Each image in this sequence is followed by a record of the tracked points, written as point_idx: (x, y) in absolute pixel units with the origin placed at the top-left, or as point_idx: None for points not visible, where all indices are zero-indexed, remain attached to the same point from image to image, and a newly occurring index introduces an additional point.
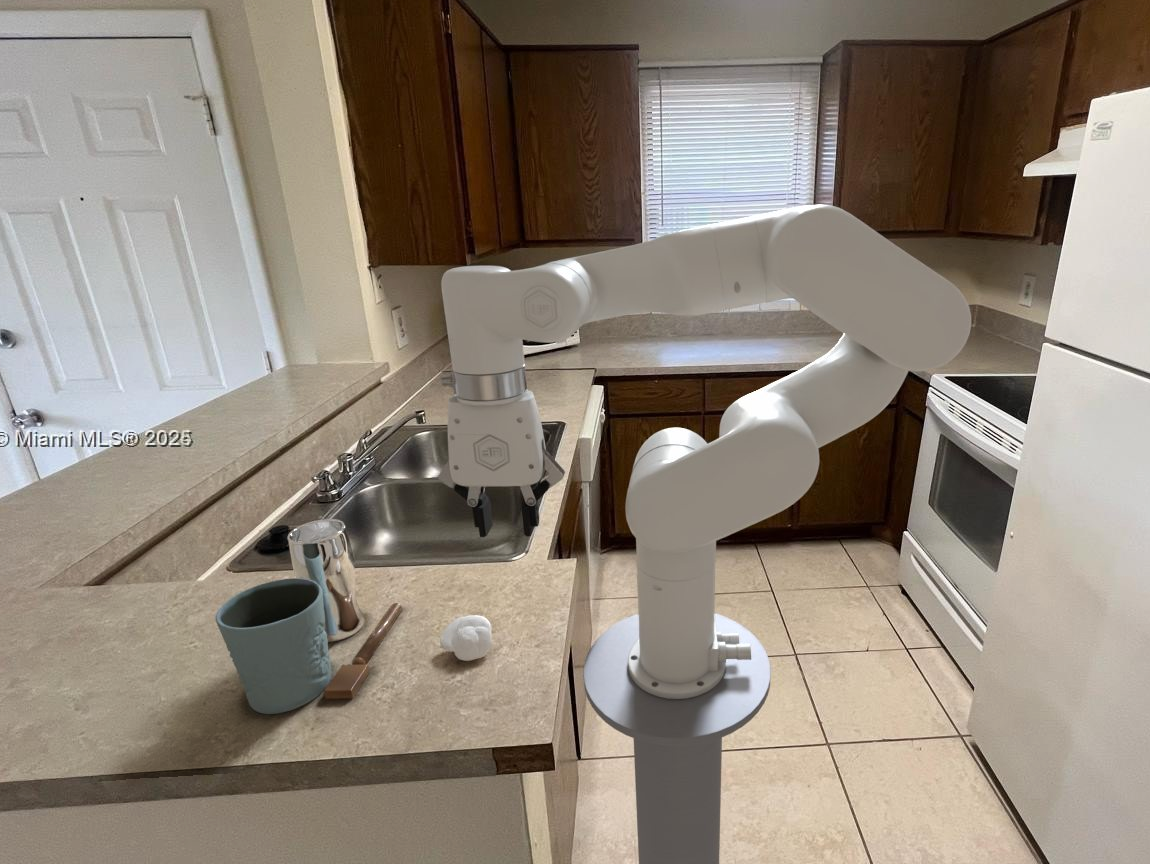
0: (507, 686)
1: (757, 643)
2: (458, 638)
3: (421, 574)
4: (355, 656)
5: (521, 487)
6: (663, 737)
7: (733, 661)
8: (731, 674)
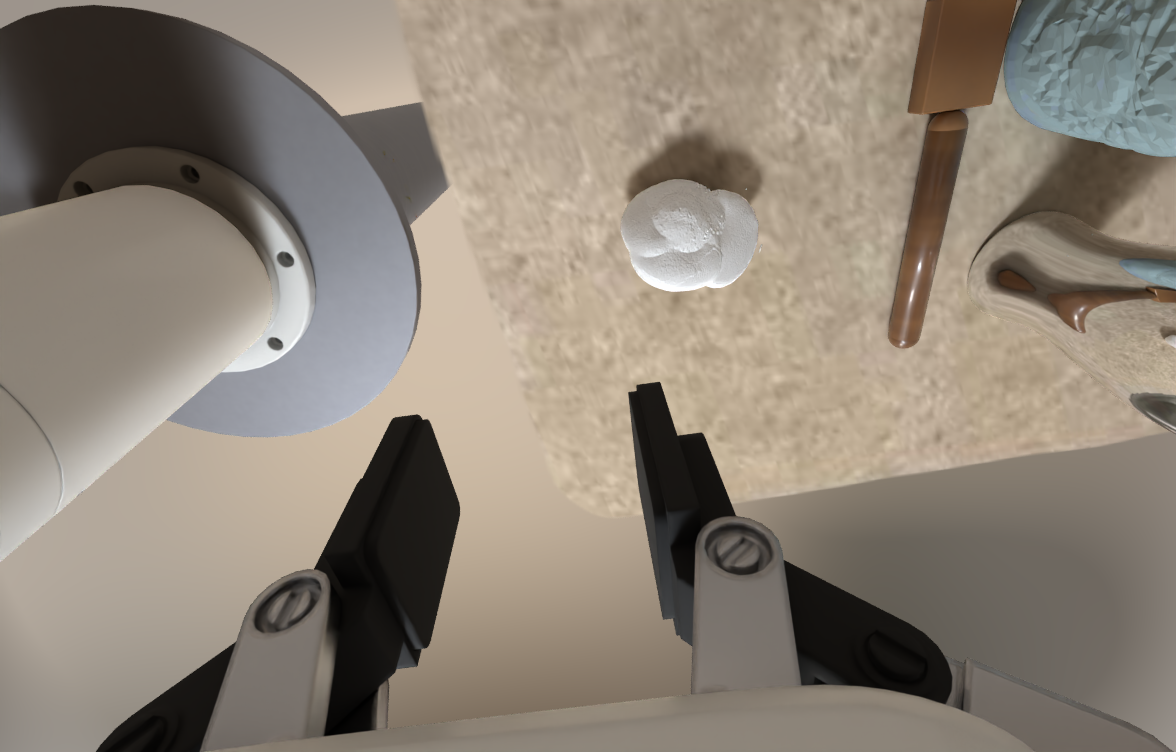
0: (534, 102)
1: None
2: (706, 214)
3: (874, 457)
4: (964, 136)
5: (290, 727)
6: (97, 6)
7: None
8: None
